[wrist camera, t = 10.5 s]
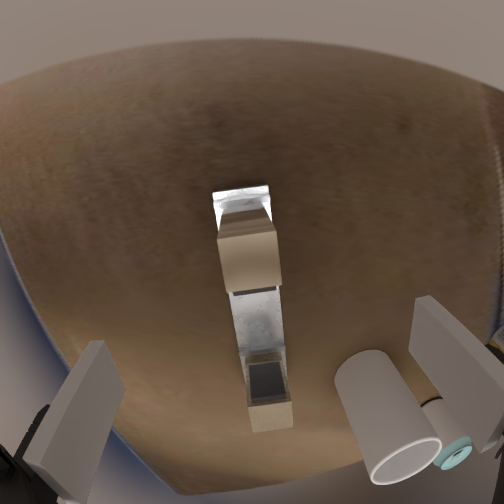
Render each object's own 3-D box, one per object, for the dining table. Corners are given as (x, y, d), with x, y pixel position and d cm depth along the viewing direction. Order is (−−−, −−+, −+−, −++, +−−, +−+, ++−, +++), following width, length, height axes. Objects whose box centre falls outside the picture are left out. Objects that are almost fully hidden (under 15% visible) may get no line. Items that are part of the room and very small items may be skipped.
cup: (322, 377, 38) (356, 476, 23) (372, 338, 37) (429, 429, 22) (354, 402, 40) (389, 489, 25) (399, 368, 39) (450, 450, 24)
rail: (265, 183, 30) (280, 200, 21) (285, 377, 38) (298, 437, 28) (213, 189, 30) (204, 210, 21) (246, 383, 38) (250, 443, 28)
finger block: (221, 214, 29) (216, 239, 21) (265, 208, 29) (276, 230, 21) (229, 261, 30) (227, 300, 23) (270, 255, 30) (282, 292, 23)
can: (403, 420, 43) (430, 471, 32) (433, 392, 42) (466, 441, 30) (422, 427, 45) (448, 473, 34) (450, 401, 43) (480, 446, 32)
